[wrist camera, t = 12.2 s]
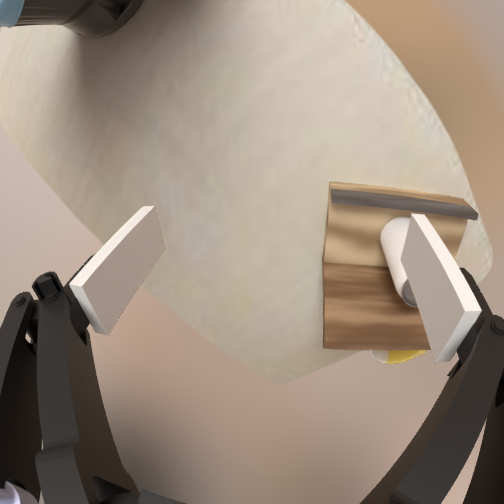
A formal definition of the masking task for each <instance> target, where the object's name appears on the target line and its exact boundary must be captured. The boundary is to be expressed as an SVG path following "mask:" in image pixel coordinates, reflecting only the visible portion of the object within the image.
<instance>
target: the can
mask: <svg viewBox="0 0 504 504" xmlns="http://www.w3.org/2000/svg"><path fill="white" fill-rule="evenodd" d="M409 222H410V218H408V217H398V218H395V219H393V220H391V221H390V222H388V223H387V224H386V225H385V227H384V228H383V230H382V232H381V235H380V243H381V246H382V249H383V252H384V255H385V258H386V261H387V264H388V267H389V270H390V273H391V276H392V279H393V282H394V285H395V288H396V291H397V293H398V294H399V296H400V297H401V298H402V299H403V301H404V302H405V303H406V304H407V305H409V306H411V307H416V308H418V306H417V303H416V300H415V297H414V294H413V291H412V289H411V286H410V283H409V281H408V278H407V275H406V273H405V270H404V268H403V265H402V263H401V260H400V259H401V255H402V251H403V247H404V243H405V239H406V235H407V231H408V226H409Z"/></svg>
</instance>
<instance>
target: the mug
mask: <svg viewBox="0 0 504 504" xmlns="http://www.w3.org/2000/svg"><path fill="white" fill-rule="evenodd" d="M369 352H370V355H371V356H372V358H373V359H375V360H376V361H378V362H380V363H384V364H397V363H401V362H405V361H408V360H410V359H412V358H414V357H416V356H417V355H419V356H420V355H423V354H424V353H425V352H426V350H400V351H386V350H369Z"/></svg>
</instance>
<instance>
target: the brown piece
mask: <svg viewBox="0 0 504 504" xmlns="http://www.w3.org/2000/svg"><path fill="white" fill-rule="evenodd" d="M411 214H422V215H425V216H426V218H427V219H428V220H429V222H430V223H431V225H432V226H433V228H434V229H435V231H436V232H437V234H438V235H439V237H440V238H441V240H442V241H443V243H444V244H445V246H446V247H447V249H448V251H449V252H450V254H451V255H452V257H453V259H454V260H455V257H456V254H457V251H458V249H459V246H460V242H461V239H462V236H463V233H464V230H465V226H466V223H467V220H468V219H471V220H477V218H478V213H477V212H476V211H475V210H474V209H473V208H472V207H471V206H470V205H469V204H468V203H467V202H466V201H465V200H463V199H461V198H456V197H450V196H444V195H438V194H432V193H425V192H419V191H412V190H404V189H396V188H388V187H380V186H371V185H361V184H351V183H340V182H330V186H329V199H328V210H327V221H326V231H325V240H324V249H323V258H322V265H323V348H326V349H346V350H386V351H400V350H431V348H430V344H429V341H428V337H427V334H426V331H425V327H424V324H423V321H422V318H421V315H420V312H419V309H418V308H416V307H411V306H409V305H407V304H406V303H405V302H404V301H403V299H402V298H401V297H400V296H399V294H398V293H397V291H396V288H395V285H394V282H393V279H392V276H391V273H390V270H389V267H388V264H387V261H386V258H385V255H384V252H383V249H382V246H381V243H380V235H381V232H382V230H383V228H384V227H385V225H386V224H387V223H388V222H390V221H391V220H393V219H395V218H398V217H408V218H410V217H411Z"/></svg>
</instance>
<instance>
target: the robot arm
mask: <svg viewBox="0 0 504 504" xmlns="http://www.w3.org/2000/svg"><path fill="white" fill-rule="evenodd" d="M142 1H143V0H0V27H9V28H10V27H13V26H26V25H63V26H64V27H66V28H68V29H70V30H72V31H74V32H75V33H77V34H79V35H82V36H88V37H100V36H105V35H108V34H110V33H112V32H114V31H116V30H117V29H119V28H120V27H121V26H123V25H124V24H125V23H126V22H127V21H128V20H129V19H130V18H131V17H132V16H133V15H134V14H135V12H136V11H137V10H138V8H139V6H140V5H141V3H142ZM164 250H165V246H164V242H163V238H162V234H161V230H160V226H159V222H158V217H157V213H156V209H155V206H143V207H142V208H141V209H140V210H139V211H138V212H136V213H135V214H134V215H133V216H132V217H131V218H130V219H129V220H128V221H127V222H126V223H125V224H124V225H123V226H122V227H121V228H120V229H119V230H118V231H117V232H116V233H115V234H114V235H113V236H112V237H111V238H110V239H109V240H108V241H107V243H106V244H105V245H104V246H103V247H102V248H101V249H100V250H99V251H98V252H97V253H96V254H94V255H93V256H91V257H90V258H89V259H88V260H87V261H86V262H85V263H84V265H82V267H81V268H80V269H79V271H77V272H76V273H75V274H74V276H73V277H72V278H71V279H70V280H69V281H68V282H67V284H66V285H65V286H64V287H63V286H62V284H61V282H60V280H59V278H58V276H57V274H56V273H55V272H47V273H44V274H43V275H40V276H39V277H38V278H37V279H36V280H35V281H34V283H33V285H32V288H33V290H34V292H35V293H36V295H37V297H38V299H39V300H34V299H33V297H32V295H31V294H30V293H29V292H23V293H20V294H19V295H17V296H16V297H15V298H14V299H13V301H12V302H11V304H10V307H9V309H8V311H7V313H6V316H5V318H4V321H3V323H2V326H1V328H0V504H39V499H40V491H41V492H42V495H43V499H44V503H45V504H185V503H182V502H179V501H176V500H173V499H169V498H166V497H163V496H160V495H157V494H155V493H152V492H149V491H146V490H144V489H142V490H141V492H139V491H138V489H137V487H136V485H135V483H134V481H133V479H132V478H131V476H130V475H129V474H128V473H127V472H126V470H125V469H124V467H123V465H122V463H121V460H120V457H119V454H118V452H117V449H116V446H115V443H114V440H113V437H112V434H111V430H110V427H109V423H108V420H107V416H106V413H105V409H104V405H103V401H102V397H101V393H100V389H99V384H98V380H97V376H96V370H95V365H94V359H93V354H92V348H91V341H90V335H89V332H88V330H87V327H88V325H89V323H90V324H91V325H92V327H93V329H94V330H95V332H97V333H101V334H104V335H109V334H110V332H111V330H112V329H113V327H114V325H115V324H116V322H117V321H118V319H119V317H120V316H121V314H122V313H123V311H124V310H125V308H126V306H127V305H128V303H129V302H130V300H131V299H132V297H133V296H134V294H135V293H136V291H137V289H138V288H139V287H140V285H141V284H142V282H143V281H144V279H145V278H146V276H147V275H148V273H149V272H150V270H151V269H152V267H153V266H154V264H155V263H156V262H157V260H158V259H159V257H160V256H161V254H162V253H163V252H164ZM400 260H401V263H402V265H403V268H404V270H405V273H406V275H407V278H408V281H409V283H410V286H411V289H412V291H413V294H414V297H415V300H416V303H417V306H418V309H419V312H420V315H421V318H422V321H423V324H424V327H425V331H426V334H427V337H428V341H429V344H430V348H431V352H432V355H433V359H434V362H435V363H436V362H445V361H450V360H451V359H452V358H453V356H454V355H455V353H456V352H457V353H458V356H459V361H458V362H457V363H456V364H455V366H454V367H453V369H452V370H451V371H450V372H449V374H448V375H447V376H450V377H449V379H448V381H447V383H446V385H445V387H444V389H443V390H442V392H441V394H440V396H439V398H438V399H437V401H436V403H435V405H434V406H433V408H432V410H431V411H430V413H429V415H428V416H427V418H426V420H425V421H424V423H423V424H422V426H421V428H420V429H419V430H418V432H417V434H416V435H415V436H414V438H413V439H412V441H411V442H410V444H409V445H408V446H407V448H406V449H405V451H404V452H403V453H402V455H401V456H400V457H399V459H398V460H397V461H396V462H395V464H394V465H393V466H392V468H391V469H390V470H389V471H388V472H387V474H386V475H385V476H384V477H383V478H382V480H381V481H380V482H379V483H378V484H377V485H376V487H375V488H374V489H373V490H372V491H371V492H370V493H369V494H368V495H367V496H366V498H365V499H364V500H363V501H362V502H361V503H360V504H441V502H442V501H443V499H444V498H445V496H446V495H447V493H448V492H449V490H450V489H451V487H452V486H453V484H454V482H455V481H456V479H457V477H458V475H459V474H460V472H461V470H462V468H463V467H464V465H465V463H466V461H467V459H468V457H469V455H470V453H471V451H472V449H473V447H474V445H475V443H476V441H477V439H478V437H479V434H480V432H481V430H482V428H483V425H484V423H485V420H486V418H487V420H486V425H485V430H484V435H483V440H482V444H481V448H480V452H479V456H478V459H477V463H476V466H475V470H474V473H473V476H472V480H471V482H470V485H469V488H468V491H467V494H466V497H465V499H464V501H463V504H504V319H503V318H501V317H500V316H497V315H493V314H492V312H491V310H490V308H489V306H488V304H487V302H486V300H485V298H484V296H483V295H482V293H481V292H480V289H479V287H478V286H477V285H476V282H475V280H474V279H473V277H472V275H471V274H470V273H469V272H468V271H467V270H465V269H464V268H459V267H458V265H457V264H456V262H455V260H454V259H453V257H452V255H451V254H450V252H449V251H448V249H447V247H446V246H445V244H444V243H443V241H442V240H441V238H440V237H439V235H438V234H437V232H436V231H435V229H434V228H433V226H432V225H431V223H430V222H429V220H428V219H427V218H426V216H425V215H422V214H411V217H410V222H409V226H408V231H407V235H406V239H405V243H404V247H403V251H402V255H401V259H400ZM26 332H27V334H28V335H29V337H30V338H31V342H30V343H29V342H28V341H27V340H26V338H25V335H26ZM42 439H43V450H42V449H41V448H42ZM41 450H42V451H41Z"/></svg>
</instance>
